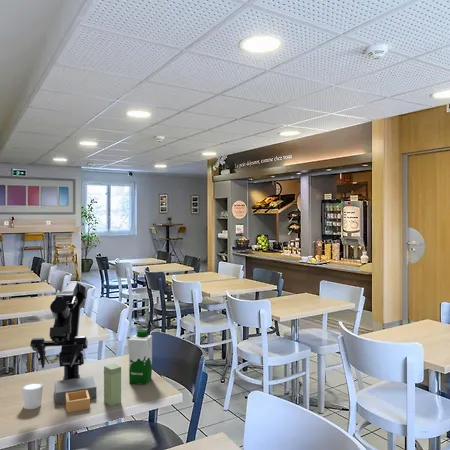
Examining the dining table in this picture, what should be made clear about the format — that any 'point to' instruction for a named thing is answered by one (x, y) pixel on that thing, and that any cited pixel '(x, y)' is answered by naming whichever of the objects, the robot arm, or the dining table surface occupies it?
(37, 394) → the white cup
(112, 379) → the green tall box
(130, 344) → the milk carton
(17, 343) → the dining table surface
